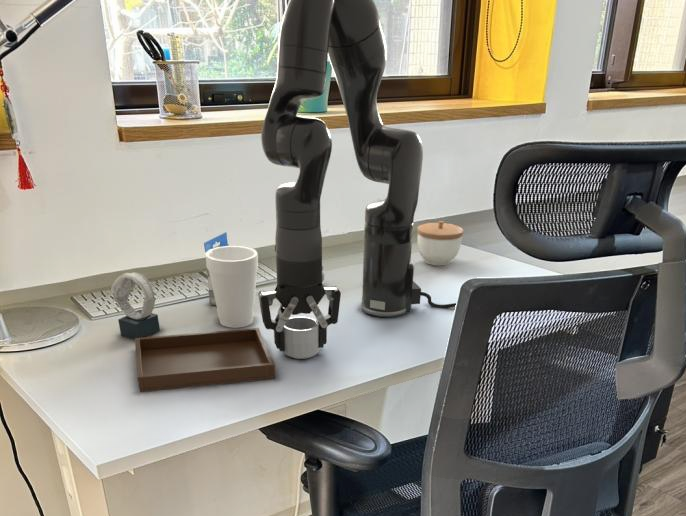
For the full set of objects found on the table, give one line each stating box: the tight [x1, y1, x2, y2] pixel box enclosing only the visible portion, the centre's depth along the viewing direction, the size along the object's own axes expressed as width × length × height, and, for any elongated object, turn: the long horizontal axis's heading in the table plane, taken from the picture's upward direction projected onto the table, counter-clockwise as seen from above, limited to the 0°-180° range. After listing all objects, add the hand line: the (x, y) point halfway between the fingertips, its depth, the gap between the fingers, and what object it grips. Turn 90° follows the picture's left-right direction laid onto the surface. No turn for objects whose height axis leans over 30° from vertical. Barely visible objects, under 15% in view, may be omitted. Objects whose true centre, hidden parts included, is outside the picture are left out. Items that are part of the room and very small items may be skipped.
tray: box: [134, 327, 276, 393], centre depth 119 cm, size 22×16×3 cm
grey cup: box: [282, 316, 320, 360], centre depth 123 cm, size 6×6×6 cm
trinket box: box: [416, 220, 464, 266], centre depth 167 cm, size 11×11×9 cm
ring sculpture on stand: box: [110, 271, 161, 341], centre depth 127 cm, size 6×8×11 cm
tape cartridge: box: [203, 231, 231, 306], centre depth 142 cm, size 9×4×12 cm, turn 160°
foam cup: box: [204, 245, 259, 329], centre depth 132 cm, size 10×9×13 cm
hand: (301, 347), depth 124 cm, fingers closed on grey cup, 6 cm apart
